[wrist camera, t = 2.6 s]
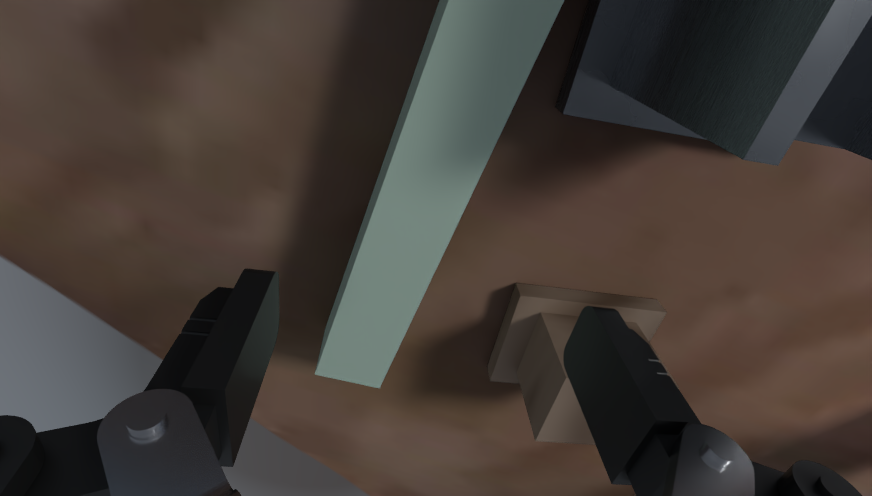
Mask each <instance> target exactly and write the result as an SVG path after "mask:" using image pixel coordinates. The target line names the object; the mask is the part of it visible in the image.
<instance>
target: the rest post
mask: <svg viewBox="0 0 872 496" xmlns="http://www.w3.org/2000/svg"><path fill="white" fill-rule="evenodd" d="M586 306H594V307H603V308H613V309H616V310H617V311H618V312H619V314H620V315H621V317H622V318H623V320H624V322H625V323H626V325H627V326H628V328H629V329H633V330H634V331H635V332H636V333H637V334H638V335H639V336H640V337H642V338H643V339H644V340H645V341H646V342H647V343H648V344H649V345H650V347H651V348H652V350H653V351H654V353H655V354H656V356H657V357H658V359H659V363H662V365H663V366H664V364H663V362H662V361H661V359H660V358H659V356H658V355H657V353H656V352H655V350H654V349H653V347H652V346H651V344H650V343H649V342H650V340H651V338H652V337H653V335H654V333H655V332H656V330H657V328H658V327H659V325H660V323H661V322H662V320H663V318H664V317H665V315H666V313H667V312H666V311H665V309H664V308H663V307H662V305H661V304H660V303H659V301H658V300H657V299H648V298H640V297H632V296H623V295H615V294H606V293H598V292H589V291H581V290H572V289H564V288H555V287H547V286H538V285H530V284H521V283H516V284H515V287H514V290H513V293H512V296H511V299H510V302H509V305H508V307H507V310H506V313H505V316H504V319H503V322H502V325H501V328H500V331H499V334H498V336H497V339H496V342H495V345H494V348H493V351H492V354H491V357H490V360H489V363H488V365H487V369H488V374H489V379H490V381H494V382H506V383H518V384H520V387H521V390H522V394H523V398H524V401H525V405H526V409H527V412H528V416H529V420H530V423H531V427H532V431H533V434H534V438H535V441H543V442H558V443H574V444H589V445H596V444H595V442H594V439H593V437H592V434H591V432H590V429H589V427H588V424H587V422H586V420H585V417H584V415H583V412H582V410H581V407H580V405H579V402H578V400H577V397H576V395H575V393H574V390H573V388H572V385H571V383H570V380H569V378H568V375H567V373H566V370H565V367H564V361H563V355H564V349H565V346H566V343H567V341H568V339H569V337H570V335H571V333H572V331H573V328H574V326H575V324H576V322H577V320H578V318H579V315H580V313H581V311H582V310H583V308H584V307H586ZM664 368H665V370H666V371H667V375H668V376H670V377H671V379H672V380H673V382H674V383H675V385H676V386H677V388H679V387H678V385H677V384H676V382H675V381H674V379H673V378H672V376H671V375H670V373H669V372H668V370H667V369H666V367H665V366H664Z"/></svg>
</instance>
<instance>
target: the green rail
mask: <svg viewBox="0 0 872 496" xmlns="http://www.w3.org/2000/svg"><path fill="white" fill-rule="evenodd" d="M563 2H564V0H439V3H438V6H437V9H436V12H435V15H434V18H433V20H432V23H431V26H430V29H429V32H428V35H427V38H426V41H425V43H424V46H423V49H422V52H421V55H420V58H419V61H418V64H417V66H416V69H415V72H414V75H413V78H412V81H411V84H410V86H409V89H408V92H407V95H406V98H405V101H404V104H403V107H402V109H401V112H400V115H399V118H398V121H397V124H396V127H395V130H394V132H393V135H392V138H391V141H390V144H389V147H388V150H387V153H386V155H385V158H384V161H383V164H382V167H381V170H380V173H379V175H378V178H377V181H376V184H375V187H374V190H373V193H372V196H371V198H370V201H369V204H368V207H367V210H366V213H365V216H364V219H363V221H362V224H361V227H360V230H359V233H358V236H357V239H356V242H355V244H354V247H353V250H352V253H351V256H350V259H349V262H348V265H347V267H346V270H345V273H344V276H343V279H342V282H341V285H340V287H339V290H338V293H337V296H336V299H335V302H334V305H333V308H332V310H331V313H330V316H329V319H328V322H327V325H326V328H325V332H324V337H323V341H322V345H321V350H320V354H319V358H318V363H317V367H316V371H315V375H320V376H324V377H329V378H334V379H338V380H343V381H348V382H352V383H357V384H362V385H366V386H371V387H375V388H380V386H381V384H382V382H383V380H384V378H385V376H386V373H387V371H388V369H389V367H390V365H391V363H392V361H393V359H394V357H395V355H396V352H397V350H398V348H399V346H400V344H401V342H402V340H403V338H404V336H405V334H406V332H407V329H408V327H409V325H410V323H411V321H412V319H413V317H414V315H415V313H416V311H417V308H418V306H419V304H420V302H421V300H422V298H423V296H424V294H425V292H426V290H427V287H428V285H429V283H430V281H431V279H432V277H433V275H434V273H435V271H436V269H437V266H438V264H439V262H440V260H441V258H442V256H443V254H444V252H445V250H446V248H447V245H448V243H449V241H450V239H451V237H452V235H453V233H454V231H455V229H456V227H457V225H458V222H459V220H460V218H461V216H462V214H463V212H464V210H465V208H466V206H467V204H468V201H469V199H470V197H471V195H472V193H473V191H474V189H475V187H476V185H477V183H478V180H479V178H480V176H481V174H482V172H483V170H484V168H485V166H486V164H487V162H488V159H489V157H490V155H491V153H492V151H493V149H494V147H495V145H496V143H497V141H498V138H499V136H500V134H501V132H502V130H503V128H504V126H505V124H506V122H507V120H508V118H509V115H510V113H511V111H512V109H513V107H514V105H515V103H516V101H517V99H518V97H519V94H520V92H521V90H522V88H523V86H524V84H525V82H526V80H527V78H528V76H529V73H530V71H531V69H532V67H533V65H534V63H535V61H536V59H537V57H538V55H539V52H540V50H541V48H542V46H543V44H544V42H545V40H546V38H547V36H548V34H549V31H550V29H551V27H552V25H553V23H554V21H555V19H556V17H557V15H558V13H559V11H560V8H561V6H562V4H563Z"/></svg>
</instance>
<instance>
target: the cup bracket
mask: <svg viewBox="0 0 872 496" xmlns="http://www.w3.org/2000/svg"><path fill="white" fill-rule="evenodd" d="M555 107H556V108H557V109H558V110H559V111H560V112H561V113H562V114H565V115H571V116H577V117H582V118H588V119H593V120H599V121H605V122H610V123H616V124H622V125H627V126H633V127H638V128H644V129H650V130H655V131H661V132H666V133H672V134H678V135H683V136H689V137H694V138H700V139H706V140H709V141H711V142H712V143H714V144H716V145H718V146H720V147H721V148H723V149H725V150H727V151H729V152H731V153H732V154H734V155H736V156H738V157H740V158H741V159H743V160H749V161H754V162H760V163H766V164H772V165H777V166H778V164H779V163H780V161H781V160H782V158H783V156H784V155H785V153H786V152H787V150H788V148H789V147H790V145H791V144H792V142H793V140H798V141H803V142H809V143H814V144H820V145H825V146H831V147H836V148H841V149H846V150H848V151H851V152H853V153H856V154H858V155H861V156H863V157H866V158H868V159H871V160H872V0H589V2H588V5H587V8H586V12H585V15H584V18H583V21H582V24H581V27H580V30H579V33H578V37H577V40H576V43H575V46H574V49H573V52H572V55H571V59H570V62H569V65H568V68H567V71H566V74H565V77H564V80H563V84H562V87H561V90H560V93H559V96H558V99H557V102H556V105H555Z"/></svg>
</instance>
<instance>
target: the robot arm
mask: <svg viewBox="0 0 872 496" xmlns="http://www.w3.org/2000/svg"><path fill="white" fill-rule="evenodd" d="M278 328H279V275H278V272H274V271H264V270H255V269H244V270H243V272H242V274H241V276H240V277H239V279H238V281H237V283H236V285H235V287H234V289H233V288H223V287H218V288H216V289H215V290H214V291H212V292H211V293H210V294H208V295H207V296H205V297H204V298H203V299H201V300H200V302H199V303H198V305H197V306H196V308H195V310H194V311H193V313H192V314H191V316H190V320H188V321H187V323H186V324H185V326H184V327H183V329H182V333H181V334H179V336H178V337H177V339H176V340H175V342H174V344H173V345H172V347H171V348H170V350H169V352H168V353H167V355H166V357H165V358H164V360H163V361H162V363H161V365H160V366H159V368H158V370H157V371H156V373H155V374H154V376H153V378H152V379H151V381H150V382H149V384H148V386H147V387H146V389H145V390H144V391H143V392H141V393H138V394H136V395H134V396H131V397H129V398H127V399H125V400H124V401H122V402H121V403H119V404H118V405H116V406H115V407H114V408H113V409H112V410H111V411H110V412H109V413H108V414H107V415H106V416H105V417H104V418H103V419H100V420H97V421H93V422H89V423H85V424H79V425H74V426H69V427H64V428H59V429H54V430H49V431H44V432H39V433H36V431H35V429H34V427H33V426H32V424H31V423H30V422H29V421H27V420H25V419H23V418H21V417H17V416H8V415H4V416H0V496H241V494H240V493H239V492H238V491H237V490H236V489H235V490H233V489H232V488H231V486H230V484H229V483H228V481H227V478H226V476H225V474H224V472H223V470H222V467H221V466H228V467H233V465H234V462H235V460H236V456H237V453H238V451H239V448H240V445H241V442H242V439H243V436H244V433H245V430H246V428H247V424H248V422H249V419H250V416H251V413H252V410H253V407H254V404H255V401H256V398H257V396H258V393H259V390H260V387H261V384H262V381H263V378H264V375H265V372H266V369H267V366H268V364H269V361H270V358H271V355H272V352H273V349H274V346H275V343H276V339H277V334H278ZM563 361H564V367H565V370H566V373H567V375H568V378H569V380H570V383H571V385H572V388H573V390H574V393H575V395H576V397H577V400H578V402H579V405H580V407H581V410H582V412H583V415H584V417H585V420H586V422H587V424H588V427H589V429H590V432H591V434H592V437H593V439H594V442H595V444H596V447H597V449H598V451H599V454H600V456H601V459H602V461H603V464H604V466H605V469H606V471H607V474H608V476H609V478H610V481H611V483H612V484H621V485H632V487H633V489H634V491H635V494H634V496H862V495H861V494H860V493H859V492H858V491H857V490H856V489H855V488H854V487H853V486H852V485H851V484H850V483H849V482H848V481H846V480H845V479H844V478H843V477H841V476H840V475H839V474H837V473H835V472H834V471H832V470H831V469H829V468H827V467H825V466H823V465H821V464H818V463H815V462H812V461H807V460H801V461H798V462H796V463H795V464H794V465H792V466H791V467H790V468H789V469H788V470H787V471H786V472H785V473H784V472H781V471H778V470H775V469H772V468H769V467H767V466H764V465H761V464H758V463H755V462H752V461H750V459H749V457H748V456H747V454H746V453H745V452H744V451H743V449H742V448H741V447H740V446H739V445H738V444H737V443H736V442H735V441H733V440H732V439H731V438H730V437H728V436H727V435H726V434H724V433H722V432H721V431H719V430H717V429H715V428H713V427H710V426H707V425H703V424H701V423H700V421H699V420H698V418H697V417H696V415H695V413H694V412H693V410H692V409H691V407H690V406H689V404H688V403H687V401H686V400H685V398H684V397H683V395H682V394H681V392H680V391H679V389H678V388H677V386H676V385H675V383H674V382H673V380H672V379H671V377H670V376H668V375H667V371H666V370H665V368H664V366H663V365H662V363H659V359H658V357H657V356H656V354H655V353H654V351H653V350H652V348H651V347H650V345H649V344H648V343H647V342H646V341H645V340H644V339H643V338H642V337H640V336H639V335H638V334H637V333H636V332H635V331H634V330H633V329H629V328H628V326H627V325H626V323H625V322H624V320H623V318H622V317H621V315H620V314H619V312H618V311H617V310H616V309H613V308H603V307H594V306H586V307H584V308H583V310H582V311H581V313H580V315H579V318H578V320H577V322H576V324H575V326H574V328H573V331H572V333H571V335H570V337H569V339H568V341H567V343H566V346H565V349H564V355H563Z"/></svg>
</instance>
